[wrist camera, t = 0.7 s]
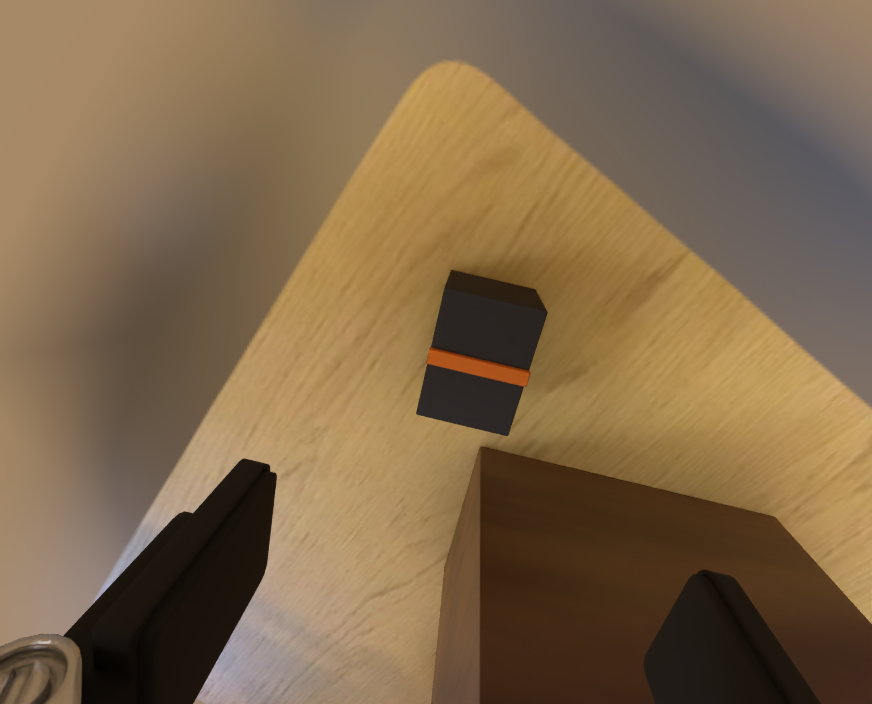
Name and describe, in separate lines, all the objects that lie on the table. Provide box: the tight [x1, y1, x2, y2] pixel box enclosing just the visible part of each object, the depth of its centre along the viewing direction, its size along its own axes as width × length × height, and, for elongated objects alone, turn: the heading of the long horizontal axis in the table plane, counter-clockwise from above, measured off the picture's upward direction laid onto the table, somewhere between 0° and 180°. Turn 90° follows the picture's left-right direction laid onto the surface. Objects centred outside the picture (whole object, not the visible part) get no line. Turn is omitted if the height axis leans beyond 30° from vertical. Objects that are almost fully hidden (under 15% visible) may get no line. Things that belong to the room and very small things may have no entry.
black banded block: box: [416, 270, 547, 436], centre depth 24 cm, size 5×7×5 cm
